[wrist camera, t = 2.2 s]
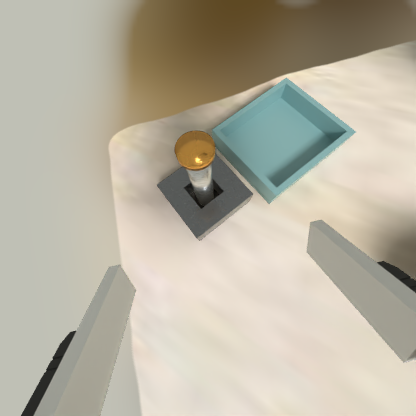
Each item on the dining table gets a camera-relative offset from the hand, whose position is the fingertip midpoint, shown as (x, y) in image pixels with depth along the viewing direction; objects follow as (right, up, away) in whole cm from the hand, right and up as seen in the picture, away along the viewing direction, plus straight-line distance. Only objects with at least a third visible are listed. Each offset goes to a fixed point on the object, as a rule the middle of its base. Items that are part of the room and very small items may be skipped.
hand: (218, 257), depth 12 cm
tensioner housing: (-1, +5, +19) cm, 20 cm away
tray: (+12, +16, +21) cm, 29 cm away
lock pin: (-1, +5, +19) cm, 20 cm away
